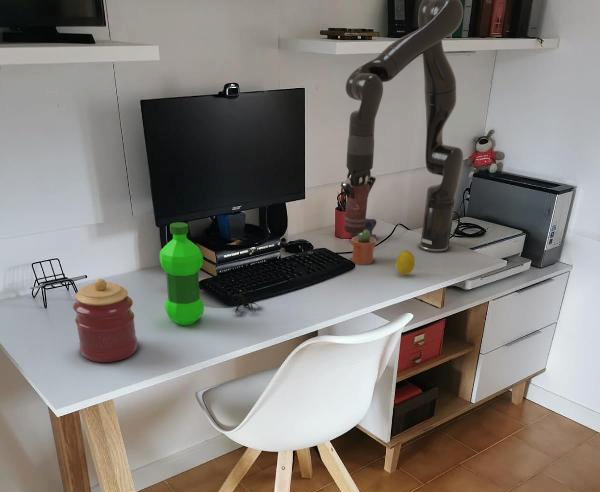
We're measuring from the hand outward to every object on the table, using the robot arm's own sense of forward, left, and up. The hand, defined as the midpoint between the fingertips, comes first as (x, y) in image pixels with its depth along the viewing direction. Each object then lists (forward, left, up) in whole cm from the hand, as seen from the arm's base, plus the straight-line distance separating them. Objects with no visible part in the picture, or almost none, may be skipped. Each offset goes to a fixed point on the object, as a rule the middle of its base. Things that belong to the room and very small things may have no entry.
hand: (356, 212), depth 194 cm
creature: (+45, +2, -18) cm, 48 cm away
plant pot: (-9, -4, -18) cm, 21 cm away
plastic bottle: (+61, -3, -18) cm, 64 cm away
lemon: (-9, +13, -18) cm, 24 cm away
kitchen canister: (+84, -1, -18) cm, 86 cm away
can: (0, 0, -6) cm, 6 cm away
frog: (-26, -19, -18) cm, 37 cm away
